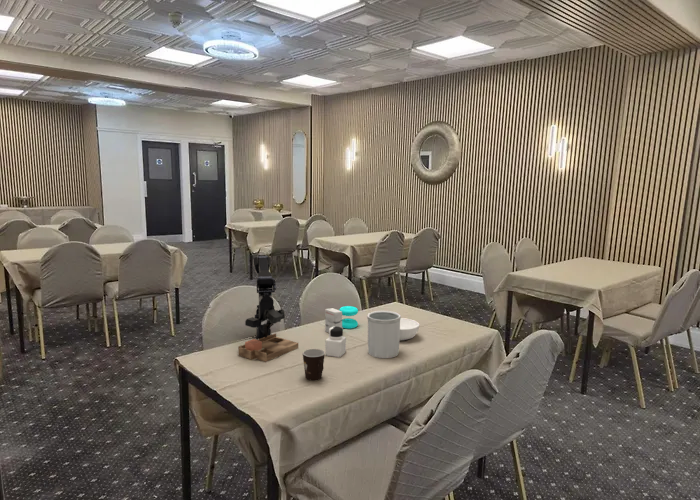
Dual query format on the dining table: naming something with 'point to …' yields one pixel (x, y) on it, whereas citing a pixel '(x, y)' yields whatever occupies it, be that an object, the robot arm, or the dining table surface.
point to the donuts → (349, 322)
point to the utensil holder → (383, 334)
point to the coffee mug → (313, 363)
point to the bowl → (408, 328)
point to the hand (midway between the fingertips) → (265, 337)
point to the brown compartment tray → (269, 348)
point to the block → (253, 345)
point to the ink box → (332, 318)
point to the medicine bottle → (335, 342)
